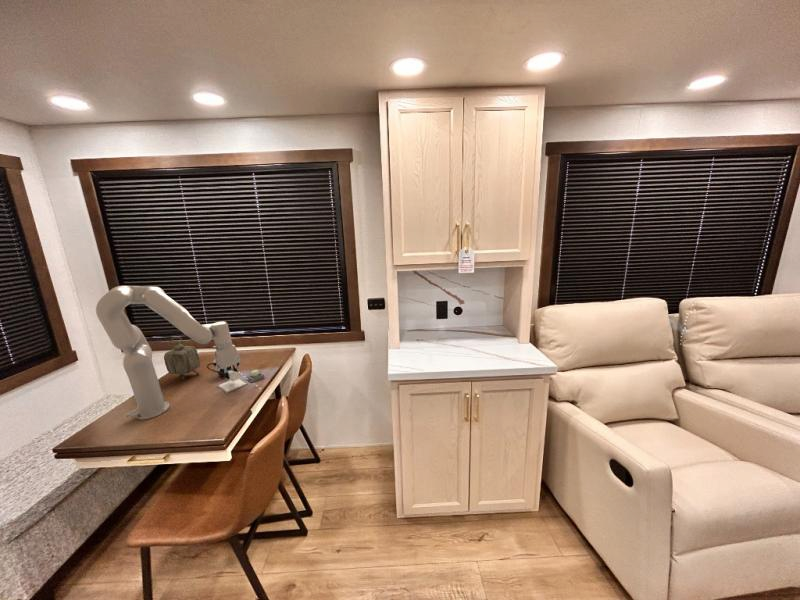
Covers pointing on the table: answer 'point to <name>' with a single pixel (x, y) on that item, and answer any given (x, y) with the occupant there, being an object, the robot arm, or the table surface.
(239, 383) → the cream flat slab
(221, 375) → the coffee mug
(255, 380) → the button housing
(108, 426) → the table surface
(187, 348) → the olive green backpack
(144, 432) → the table surface
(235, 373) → the white and teal box
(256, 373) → the button
